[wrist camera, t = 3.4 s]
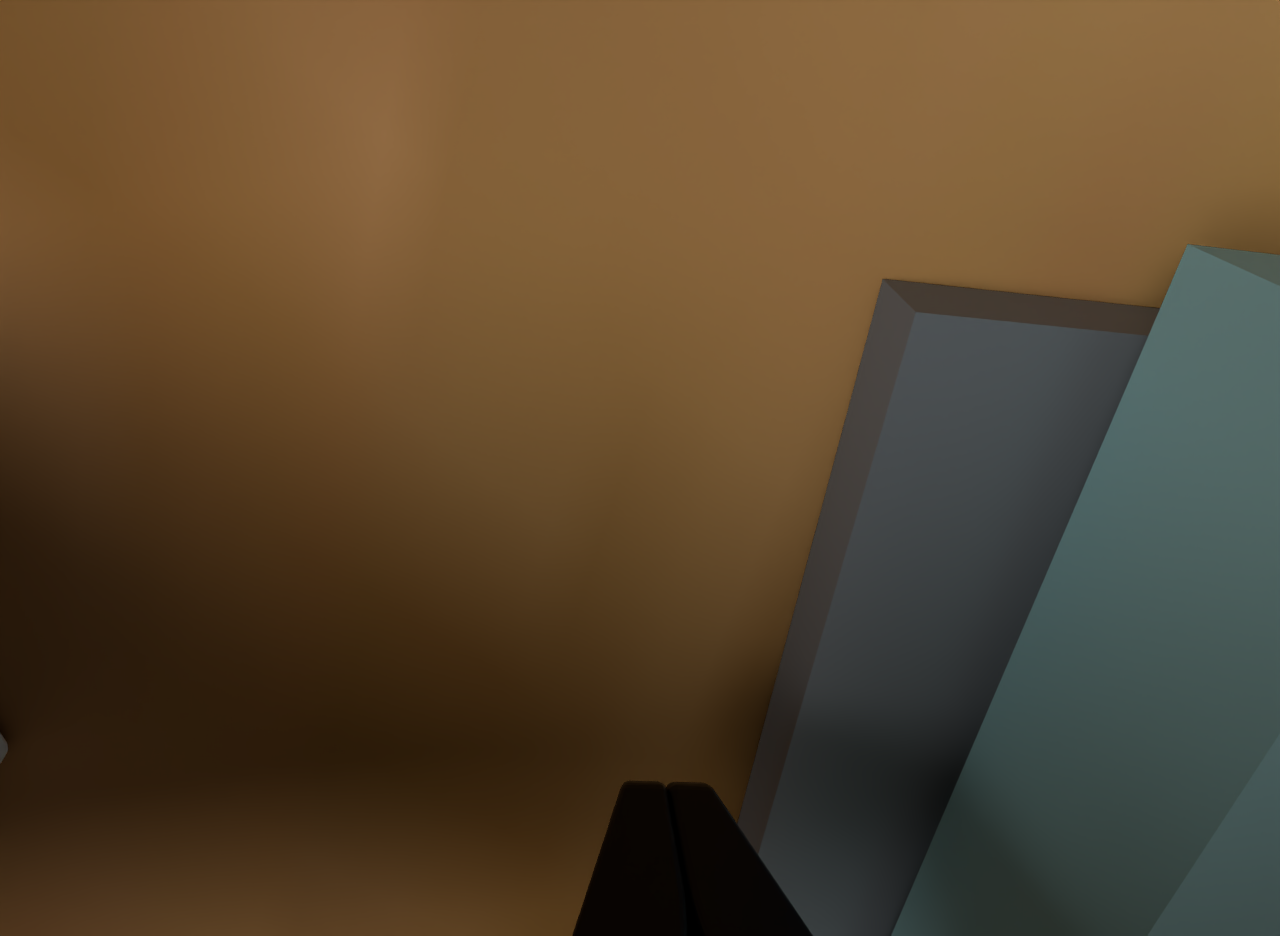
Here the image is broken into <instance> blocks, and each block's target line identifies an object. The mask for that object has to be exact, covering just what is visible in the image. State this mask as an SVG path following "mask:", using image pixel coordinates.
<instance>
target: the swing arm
mask: <svg viewBox="0 0 1280 936" xmlns="http://www.w3.org/2000/svg"><path fill="white" fill-rule="evenodd" d="M891 936H1280V255H1276V254H1267V253H1259V252H1250V251H1241V250H1233V249H1224V248H1216V247H1207V246H1199V245H1190V244H1188V245H1187V247H1186V249H1185V252H1184V254H1183V256H1182V259H1181V261H1180V263H1179V266H1178V268H1177V270H1176V273H1175V275H1174V277H1173V280H1172V282H1171V284H1170V287H1169V289H1168V291H1167V294H1166V296H1165V298H1164V301H1163V303H1162V305H1161V308H1160V310H1159V312H1158V315H1157V317H1156V319H1155V322H1154V324H1153V326H1152V329H1151V331H1150V333H1149V336H1148V338H1147V340H1146V343H1145V345H1144V347H1143V350H1142V352H1141V354H1140V357H1139V359H1138V361H1137V364H1136V366H1135V368H1134V371H1133V373H1132V375H1131V378H1130V380H1129V382H1128V385H1127V387H1126V389H1125V392H1124V394H1123V396H1122V399H1121V401H1120V403H1119V406H1118V408H1117V410H1116V413H1115V415H1114V417H1113V420H1112V422H1111V424H1110V427H1109V429H1108V431H1107V434H1106V436H1105V438H1104V441H1103V443H1102V445H1101V448H1100V450H1099V452H1098V455H1097V457H1096V459H1095V462H1094V464H1093V466H1092V469H1091V471H1090V473H1089V476H1088V478H1087V480H1086V483H1085V485H1084V487H1083V490H1082V492H1081V494H1080V497H1079V499H1078V501H1077V504H1076V506H1075V508H1074V511H1073V513H1072V515H1071V518H1070V520H1069V522H1068V525H1067V527H1066V529H1065V532H1064V534H1063V536H1062V539H1061V541H1060V543H1059V546H1058V548H1057V550H1056V552H1055V555H1054V557H1053V559H1052V562H1051V564H1050V566H1049V569H1048V571H1047V573H1046V576H1045V578H1044V580H1043V583H1042V585H1041V587H1040V590H1039V592H1038V594H1037V597H1036V599H1035V601H1034V604H1033V606H1032V608H1031V611H1030V613H1029V615H1028V618H1027V620H1026V622H1025V625H1024V627H1023V629H1022V632H1021V634H1020V636H1019V639H1018V641H1017V643H1016V646H1015V648H1014V650H1013V653H1012V655H1011V657H1010V660H1009V662H1008V664H1007V667H1006V669H1005V671H1004V674H1003V676H1002V678H1001V681H1000V683H999V685H998V688H997V690H996V692H995V695H994V697H993V699H992V702H991V704H990V706H989V709H988V711H987V713H986V716H985V718H984V720H983V723H982V725H981V727H980V730H979V732H978V734H977V737H976V739H975V741H974V744H973V746H972V748H971V751H970V753H969V755H968V758H967V760H966V762H965V765H964V767H963V769H962V772H961V774H960V776H959V779H958V781H957V783H956V786H955V788H954V790H953V793H952V795H951V797H950V800H949V802H948V804H947V807H946V809H945V811H944V814H943V816H942V818H941V821H940V823H939V825H938V828H937V830H936V832H935V835H934V837H933V839H932V842H931V844H930V846H929V849H928V851H927V853H926V856H925V858H924V860H923V863H922V865H921V867H920V870H919V872H918V874H917V877H916V879H915V881H914V884H913V886H912V888H911V891H910V893H909V895H908V898H907V900H906V902H905V905H904V907H903V909H902V912H901V914H900V916H899V919H898V921H897V923H896V926H895V928H894V930H893V933H892V935H891Z"/></svg>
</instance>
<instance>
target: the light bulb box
mask: <svg viewBox="0 0 1280 936" xmlns="http://www.w3.org/2000/svg"><path fill="white" fill-rule="evenodd" d="M7 752H8V744H7V742H6V740H5V739H4V737H3V736H2V735H1V733H0V763H1V762H2V760H3V759H4V757H5V755H6V753H7Z"/></svg>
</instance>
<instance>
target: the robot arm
mask: <svg viewBox="0 0 1280 936" xmlns="http://www.w3.org/2000/svg"><path fill="white" fill-rule="evenodd" d="M572 936H813V935H812V933H811V932H810V930H809V929H808V927H807V926H806V924H805V923H804V922H803V920H802V919H801V917H800V916H799V914H798V913H797V911H796V910H795V908H794V907H793V905H792V904H791V902H790V901H789V899H788V898H787V897H786V895H785V894H784V892H783V891H782V889H781V888H780V886H779V885H778V883H777V882H776V880H775V879H774V877H773V876H772V874H771V873H770V872H769V870H768V869H767V867H766V866H765V864H764V863H763V861H762V860H761V858H760V857H759V855H758V854H757V852H756V851H755V849H754V848H753V847H752V845H751V844H750V842H749V841H748V839H747V838H746V836H745V835H744V833H743V832H742V830H741V829H740V827H739V826H738V825H737V823H736V822H735V820H734V819H733V817H732V816H731V814H730V813H729V811H728V810H727V808H726V807H725V805H724V804H723V802H722V801H721V800H720V798H719V797H718V795H717V794H716V792H715V791H714V789H713V788H712V787H711V786H709V785H708V784H706V783H697V782H672V783H669V784H668V785H667V786H666V787H665V785H664V784H663V783H661V782H658V781H626V782H624V783H623V785H622V786H621V789H620V791H619V794H618V797H617V801H616V804H615V807H614V810H613V813H612V816H611V819H610V822H609V825H608V828H607V831H606V834H605V837H604V840H603V843H602V846H601V849H600V853H599V856H598V859H597V862H596V865H595V868H594V871H593V874H592V877H591V880H590V883H589V886H588V889H587V892H586V895H585V898H584V902H583V905H582V908H581V911H580V914H579V917H578V920H577V923H576V926H575V929H574V932H573V935H572Z"/></svg>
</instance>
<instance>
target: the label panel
mask: <svg viewBox="0 0 1280 936" xmlns="http://www.w3.org/2000/svg"><path fill="white" fill-rule="evenodd" d="M1159 310H1160V308H1150V307H1141V306H1132V305H1122V304H1113V303H1103V302H1094V301H1085V300H1075V299H1066V298H1056V297H1047V296H1038V295H1028V294H1019V293H1009V292H1000V291H990V290H981V289H972V288H962V287H953V286H943V285H934V284H925V283H915V282H906V281H896V280H887V279H883V280H882V284H881V288H880V292H879V295H878V299H877V303H876V307H875V310H874V314H873V318H872V321H871V325H870V329H869V333H868V336H867V340H866V344H865V348H864V351H863V355H862V359H861V363H860V366H859V370H858V374H857V378H856V381H855V385H854V389H853V393H852V396H851V400H850V404H849V408H848V411H847V415H846V419H845V423H844V426H843V430H842V434H841V438H840V441H839V445H838V449H837V453H836V456H835V460H834V464H833V468H832V471H831V475H830V479H829V483H828V486H827V490H826V494H825V498H824V501H823V505H822V509H821V513H820V516H819V520H818V524H817V527H816V531H815V535H814V539H813V542H812V546H811V550H810V554H809V557H808V561H807V565H806V569H805V572H804V576H803V580H802V584H801V587H800V591H799V595H798V599H797V602H796V606H795V610H794V614H793V617H792V621H791V625H790V629H789V632H788V636H787V640H786V644H785V647H784V651H783V655H782V659H781V662H780V666H779V670H778V674H777V677H776V681H775V685H774V689H773V692H772V696H771V700H770V704H769V707H768V711H767V715H766V719H765V722H764V726H763V730H762V733H761V737H760V741H759V745H758V748H757V752H756V756H755V760H754V763H753V767H752V771H751V775H750V778H749V782H748V786H747V790H746V793H745V797H744V801H743V805H742V808H741V812H740V816H739V820H738V823H737V825H738V826H739V827H740V829H741V830H742V832H743V833H744V835H745V836H746V838H747V839H748V841H749V842H750V844H751V845H752V847H753V848H754V849H755V851H756V852H757V854H758V855H759V857H760V858H761V860H762V861H763V863H764V864H765V866H766V867H767V869H768V870H769V872H770V873H771V874H772V876H773V877H774V879H775V880H776V882H777V883H778V885H779V886H780V888H781V889H782V891H783V892H784V894H785V895H786V897H787V898H788V899H789V901H790V902H791V904H792V905H793V907H794V908H795V910H796V911H797V913H798V914H799V916H800V917H801V919H802V920H803V922H804V923H805V924H806V926H807V927H808V929H809V930H810V932H811V933H812V935H813V936H891V935H892V933H893V930H894V928H895V926H896V923H897V921H898V919H899V916H900V914H901V912H902V909H903V907H904V905H905V902H906V900H907V898H908V895H909V893H910V891H911V888H912V886H913V884H914V881H915V879H916V877H917V874H918V872H919V870H920V867H921V865H922V863H923V860H924V858H925V856H926V853H927V851H928V849H929V846H930V844H931V842H932V839H933V837H934V835H935V832H936V830H937V828H938V825H939V823H940V821H941V818H942V816H943V814H944V811H945V809H946V807H947V804H948V802H949V800H950V797H951V795H952V793H953V790H954V788H955V786H956V783H957V781H958V779H959V776H960V774H961V772H962V769H963V767H964V765H965V762H966V760H967V758H968V755H969V753H970V751H971V748H972V746H973V744H974V741H975V739H976V737H977V734H978V732H979V730H980V727H981V725H982V723H983V720H984V718H985V716H986V713H987V711H988V709H989V706H990V704H991V702H992V699H993V697H994V695H995V692H996V690H997V688H998V685H999V683H1000V681H1001V678H1002V676H1003V674H1004V671H1005V669H1006V667H1007V664H1008V662H1009V660H1010V657H1011V655H1012V653H1013V650H1014V648H1015V646H1016V643H1017V641H1018V639H1019V636H1020V634H1021V632H1022V629H1023V627H1024V625H1025V622H1026V620H1027V618H1028V615H1029V613H1030V611H1031V608H1032V606H1033V604H1034V601H1035V599H1036V597H1037V594H1038V592H1039V590H1040V587H1041V585H1042V583H1043V580H1044V578H1045V576H1046V573H1047V571H1048V569H1049V566H1050V564H1051V562H1052V559H1053V557H1054V555H1055V552H1056V550H1057V548H1058V546H1059V543H1060V541H1061V539H1062V536H1063V534H1064V532H1065V529H1066V527H1067V525H1068V522H1069V520H1070V518H1071V515H1072V513H1073V511H1074V508H1075V506H1076V504H1077V501H1078V499H1079V497H1080V494H1081V492H1082V490H1083V487H1084V485H1085V483H1086V480H1087V478H1088V476H1089V473H1090V471H1091V469H1092V466H1093V464H1094V462H1095V459H1096V457H1097V455H1098V452H1099V450H1100V448H1101V445H1102V443H1103V441H1104V438H1105V436H1106V434H1107V431H1108V429H1109V427H1110V424H1111V422H1112V420H1113V417H1114V415H1115V413H1116V410H1117V408H1118V406H1119V403H1120V401H1121V399H1122V396H1123V394H1124V392H1125V389H1126V387H1127V385H1128V382H1129V380H1130V378H1131V375H1132V373H1133V371H1134V368H1135V366H1136V364H1137V361H1138V359H1139V357H1140V354H1141V352H1142V350H1143V347H1144V345H1145V343H1146V340H1147V338H1148V336H1149V333H1150V331H1151V329H1152V326H1153V324H1154V322H1155V319H1156V317H1157V315H1158V312H1159Z"/></svg>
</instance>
